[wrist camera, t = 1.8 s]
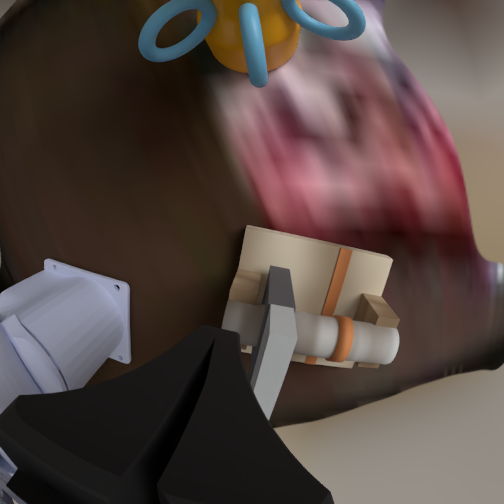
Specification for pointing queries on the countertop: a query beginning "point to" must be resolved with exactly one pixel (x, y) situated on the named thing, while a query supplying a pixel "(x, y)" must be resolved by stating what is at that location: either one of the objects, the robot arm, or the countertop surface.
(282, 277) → the grey bent plate
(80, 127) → the countertop surface
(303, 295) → the pipe rig
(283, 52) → the yellow blue ringed piece
